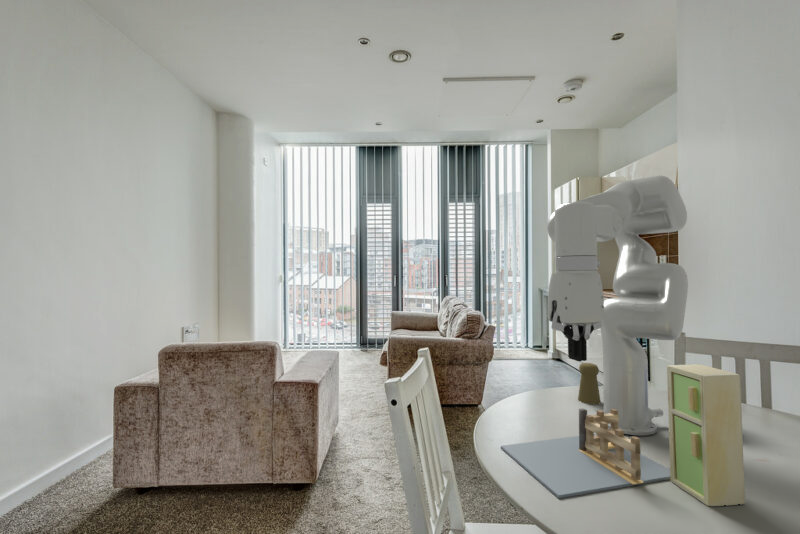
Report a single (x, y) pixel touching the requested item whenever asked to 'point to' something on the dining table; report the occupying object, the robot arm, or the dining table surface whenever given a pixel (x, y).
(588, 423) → the fence gate
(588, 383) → the cork
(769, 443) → the dining table surface
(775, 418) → the dining table surface
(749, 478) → the dining table surface
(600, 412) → the fence fixed
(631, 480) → the card
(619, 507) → the dining table surface
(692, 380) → the toy refrigerator
